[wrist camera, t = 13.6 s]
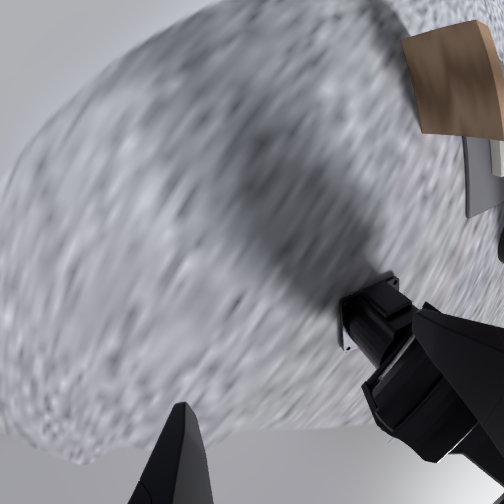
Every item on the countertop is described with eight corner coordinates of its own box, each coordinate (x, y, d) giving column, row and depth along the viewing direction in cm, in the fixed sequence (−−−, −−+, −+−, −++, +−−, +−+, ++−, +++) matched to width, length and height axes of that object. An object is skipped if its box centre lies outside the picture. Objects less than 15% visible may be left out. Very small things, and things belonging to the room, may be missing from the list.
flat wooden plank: (434, 132, 20) (513, 140, 12) (421, 133, 20) (504, 141, 12) (414, 42, 17) (488, 26, 8) (400, 40, 16) (475, 19, 8)
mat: (515, 193, 26) (518, 194, 26) (466, 217, 24) (469, 218, 24) (500, 61, 19) (502, 61, 18) (441, 39, 17) (444, 38, 16)
